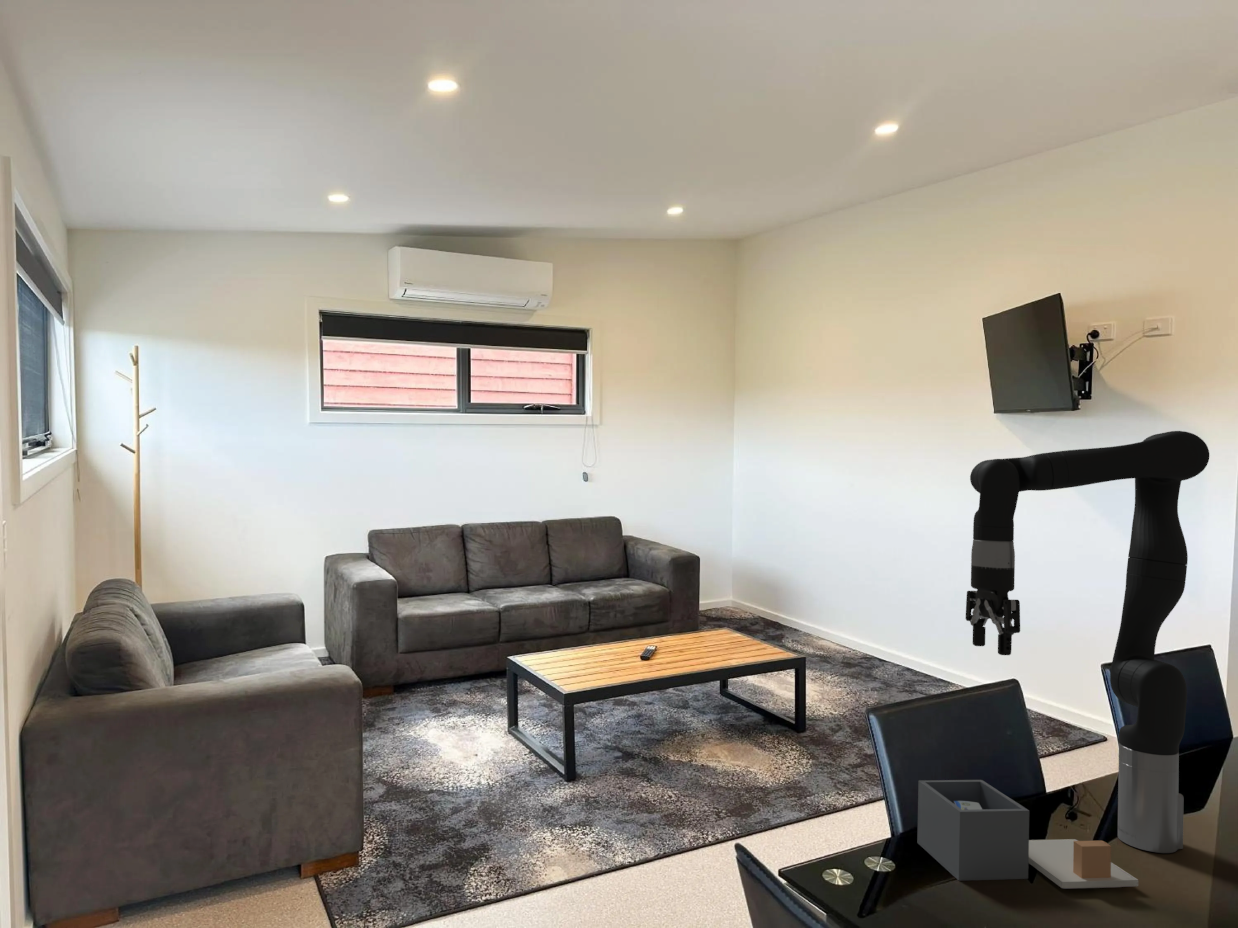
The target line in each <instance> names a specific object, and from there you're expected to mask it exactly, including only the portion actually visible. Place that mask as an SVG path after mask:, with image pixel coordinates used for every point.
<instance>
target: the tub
mask: <svg viewBox="0 0 1238 928" xmlns="http://www.w3.org/2000/svg"><path fill="white" fill-rule="evenodd" d="M917 786H918V789H917V791H918V794H917V797H918V798H917V834H916V835H917V836H916V837H917V838H916V840H917V842H916V843H917V844H918V845H919V846H920V847H921V848H923V849H924V851H925V852H927V853H928V854H929V855H930V856H931V857H932V858H933V859H934V860H936V862H938V863H939V864H940V865H941V866H942V867H943V868H944V869H945V870H946V871H948V872H949V874H950V875H952V877H954V878H956V880H957V881H990V880H991V881H992V880H1023V879H1024V880H1026V879H1027V880H1028V879H1029V863H1028V860H1029V840H1030V810H1029V809H1028V808H1026V807H1025V806H1023V805H1022V804H1020V803H1018V802H1017V801H1015V800H1014V799H1012V798H1010V797H1009V796H1007V795H1006V794H1004V793H1003V792H1001V791H1000V790H998V789H997V788H995V787H993V786H992V785H990V783H987V782H986V781H984V780H983V779H949V780H948V779H946V780H945V779H941V780H939V779H938V780H928V779H927V780H918V785H917ZM954 801H969V802H977V803H979V804H980V806H981V807H982V809H977V810H962V809H960V808H959V807H958V806H956V805H955V804H954V803H953V802H954Z"/></svg>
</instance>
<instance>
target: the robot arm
mask: <svg viewBox="0 0 1238 928" xmlns="http://www.w3.org/2000/svg"><path fill="white" fill-rule="evenodd" d="M1209 460H1210V450H1209V447H1208V445H1207V443H1206V442H1205V441H1204V439H1202V438H1201V437H1199V436H1198V435H1196V434H1194V433H1192V432H1189V431H1185V430H1183V431H1182V430H1172V431H1165V432H1161V433H1157V434H1153V435H1150V436H1148V437H1146V438H1145V439H1144V440H1143V441H1140V442H1135V443H1130V444H1123V445H1116V446H1115V445H1114V446H1106V447H1096V448H1093V447H1092V448H1082V449H1080V448H1079V449H1068V450H1058V451H1050V452H1043V453H1036V454H1032V455H1029V456H1028V455H1027V456H1022V457H1011V458H1010V457H1008V458H994V459H987V460H983V461H980V462H979V463H977V464H976V465H975V466H974V467H973V468H972V470H971V472H970V476H969V477H970V478H969V480H970V484H971V486H972V487H973V489H974V490H975V491H977V492H978V494H979V502H978V503H979V504H978V509H977V510H976V511H975V513H974V516H973V526H972V527H973V530H972V535H973V537H972V539H973V540H972V546H971V547H972V548H971V554H970V555H971V556H970V557H971V558H970V559H971V560H970V561H971V563H970V587H971V588H972V589H975V590H967V591H966V599H965V600H966V601H965V605H966V606H965V620H966V621H967V622H970V625H971V626H972V645H973V646H975V647H985V645H986V624H987V622H988V620H990V621H991V623H992V624H993V625H995V627H996V630H997V633H998V634H997V654H998V655H1000V656H1010V655H1012V643H1013V640H1012V637H1013V635H1015V634H1019V633H1020V632H1021V607H1020V604H1021V603H1020V600H1019V599H1010V598H1009V592H1013V591H1014V590H1015V570H1016V569H1015V567H1016V566H1015V564H1016V562H1015V561H1016V558H1015V557H1016V555H1015V554H1016V552H1015V545H1014V543H1015V542H1014V541H1015V540H1014V538H1015V537H1014V535H1015V532H1014V529H1015V523H1014V522H1015V521H1014V518H1015V517H1014V516H1015V512H1016V509H1017V504H1018V499H1019V495H1020V493H1021V492H1025V491H1035V492H1036V491H1038V492H1039V491H1040V492H1041V491H1051V490H1061V489H1070V488H1074V487H1075V488H1077V487H1083V486H1087V485H1089V486H1090V485H1094V484H1101V483H1106V482H1112V481H1120V480H1129V479H1134V510H1133V519H1132V524H1131V534H1130V542H1129V543H1130V544H1129V549H1128V558H1127V563H1126V564H1127V565H1126V574H1125V575H1126V577H1125V590H1124V597H1123V603H1122V604H1123V605H1122V611H1121V618H1120V619H1121V620H1120V626H1119V631H1118V636H1117V639H1116V644H1115V649H1114V653H1113V657H1112V661H1111V664H1110V665H1111V667H1110V674H1109V681H1110V682H1109V683H1110V687H1111V690H1112V692H1113V694H1114V695H1115V697H1116V698H1118V699H1119V700H1120V701H1121V702H1123V703H1125V704H1128V705H1131V706H1134V707H1135V708H1137V715H1136V716H1137V717H1136V721H1135V723H1134V724H1126V725H1122V726H1121V727H1120V729H1119V731H1118V775H1117V776H1118V785H1117V786H1118V787H1117V788H1118V789H1117V790H1118V791H1117V793H1118V794H1117V798H1118V799H1117V838H1118V839H1119V840H1120V841H1121V842H1123V843H1124V844H1126V845H1128V846H1131V847H1134V848H1136V849H1139V850H1143V851H1147V852H1152V853H1158V854H1173V853H1175V852H1177V851H1178V850H1181V849H1183V850H1184V795H1183V794H1182V793H1179V785H1180V784H1179V780H1180V778H1179V777H1180V776H1179V775H1180V774H1179V773H1180V771H1179V770H1180V769H1179V767H1180V766H1179V763H1180V762H1179V761H1180V757H1179V756H1180V752H1179V751H1180V744H1181V741H1182V739H1183V737H1184V735H1185V727H1186V716H1187V704H1188V703H1187V701H1188V689H1187V683H1186V679H1185V676H1184V675H1183V673H1182V671H1180V669H1179V668H1177V667H1176V666H1175V665H1172V664H1170V663H1168V662H1164V661H1161V660H1156V659H1155V654H1156V653H1155V652H1156V645H1157V638H1158V635H1159V631H1160V629H1161V627H1162V625H1163V624H1164V622H1165V621H1166V619H1167V618H1168V616H1169V615H1170V614H1171V613H1172V611H1173V610H1174V608H1175V607H1176V606H1177V604H1178V603H1179V601H1180V599H1182V596H1183V594H1184V592H1185V589H1186V588H1185V587H1186V580H1187V579H1186V578H1187V572H1188V571H1187V569H1188V557H1189V556H1188V548H1187V544H1186V540H1185V536H1184V531H1183V530H1182V525H1181V523H1180V518H1179V517H1180V516H1179V512H1178V511H1179V510H1178V509H1179V507H1178V506H1179V504H1178V503H1179V497H1180V496H1179V495H1180V491H1181V483H1182V481H1186V480H1190V479H1193V478H1195V477H1196V476H1198V475H1199V474H1201V473H1202V472H1203V471H1204V470H1205V468H1206V467H1207V466H1208V464H1209ZM1012 622H1013V624H1012Z"/></svg>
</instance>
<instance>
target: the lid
mask: <svg viewBox="0 0 1238 928" xmlns="http://www.w3.org/2000/svg"><path fill="white" fill-rule="evenodd" d="M1028 865H1031V866H1032V867H1033V868H1035V869H1036V870H1037V871H1039V872H1040V873H1041V874H1042V875H1043V876H1045V877H1046V878H1048V879H1049V880H1050V881H1052V882H1053V883H1054V884H1055V885H1057V886H1058V887H1060V888H1061V889H1100V888H1101V889H1102V888H1104V889H1105V888H1106V889H1107V888H1122V887H1123V888H1124V887H1139V879H1138V878H1136V877H1134V876H1133V875H1132V874H1130V873H1129V872H1127V871H1126V870H1124V869H1122V868H1121V867H1119V866H1118V865H1116V864H1115V863H1113V862H1112V846H1111V845H1110V844H1109V843H1107V842H1106V841H1104V840H1078V839H1075V838H1069V839H1068V838H1066V839H1064V838H1063V839H1060V838H1059V839H1029V860H1028Z"/></svg>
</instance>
